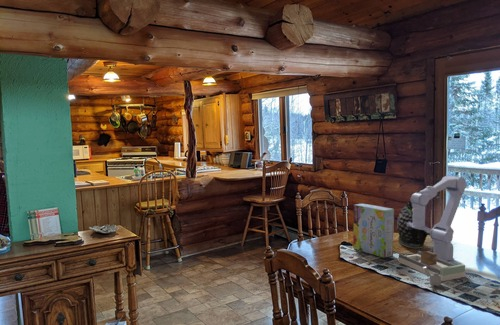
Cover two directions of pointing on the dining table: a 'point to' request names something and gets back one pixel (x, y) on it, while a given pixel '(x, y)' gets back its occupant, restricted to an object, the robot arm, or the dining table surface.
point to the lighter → (433, 277)
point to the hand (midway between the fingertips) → (418, 243)
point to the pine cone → (406, 227)
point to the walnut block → (428, 258)
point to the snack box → (373, 229)
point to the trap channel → (434, 266)
